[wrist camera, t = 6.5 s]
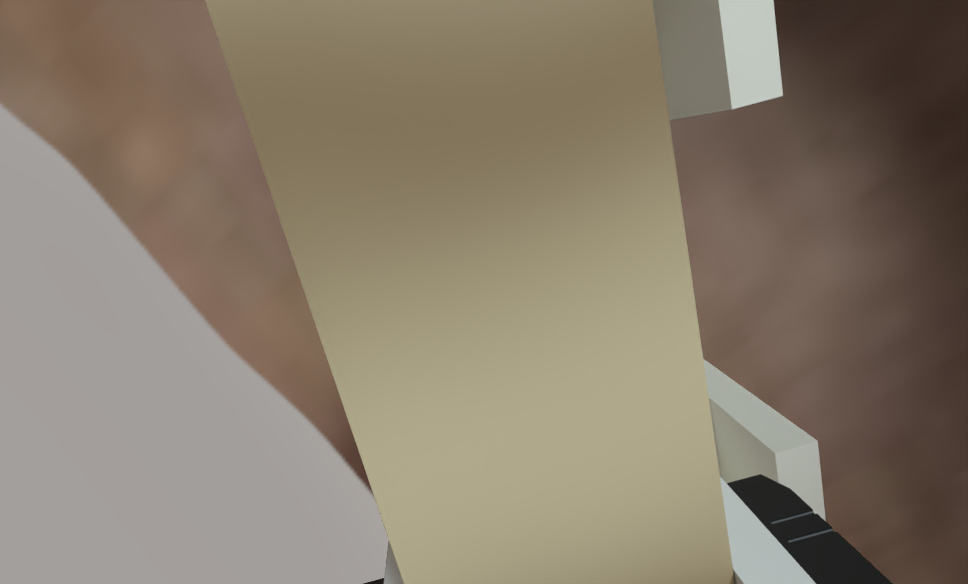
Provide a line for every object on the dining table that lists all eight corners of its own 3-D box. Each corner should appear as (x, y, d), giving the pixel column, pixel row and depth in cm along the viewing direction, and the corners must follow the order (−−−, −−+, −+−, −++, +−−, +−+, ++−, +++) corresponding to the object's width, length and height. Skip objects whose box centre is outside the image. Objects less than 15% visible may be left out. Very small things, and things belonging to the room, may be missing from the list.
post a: (448, 16, 25) (460, -78, 15) (632, -31, 25) (758, -151, 16) (485, 164, 27) (517, 166, 17) (656, 119, 27) (782, 95, 17)
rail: (299, -22, 10) (112, -272, 4) (504, -70, 10) (598, -378, 4) (540, 793, 16) (602, 1167, 10) (670, 756, 16) (809, 1104, 10)
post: (710, 457, 32) (832, 584, 22) (567, 498, 32) (628, 645, 22) (693, 352, 30) (817, 440, 21) (542, 394, 30) (595, 505, 20)
